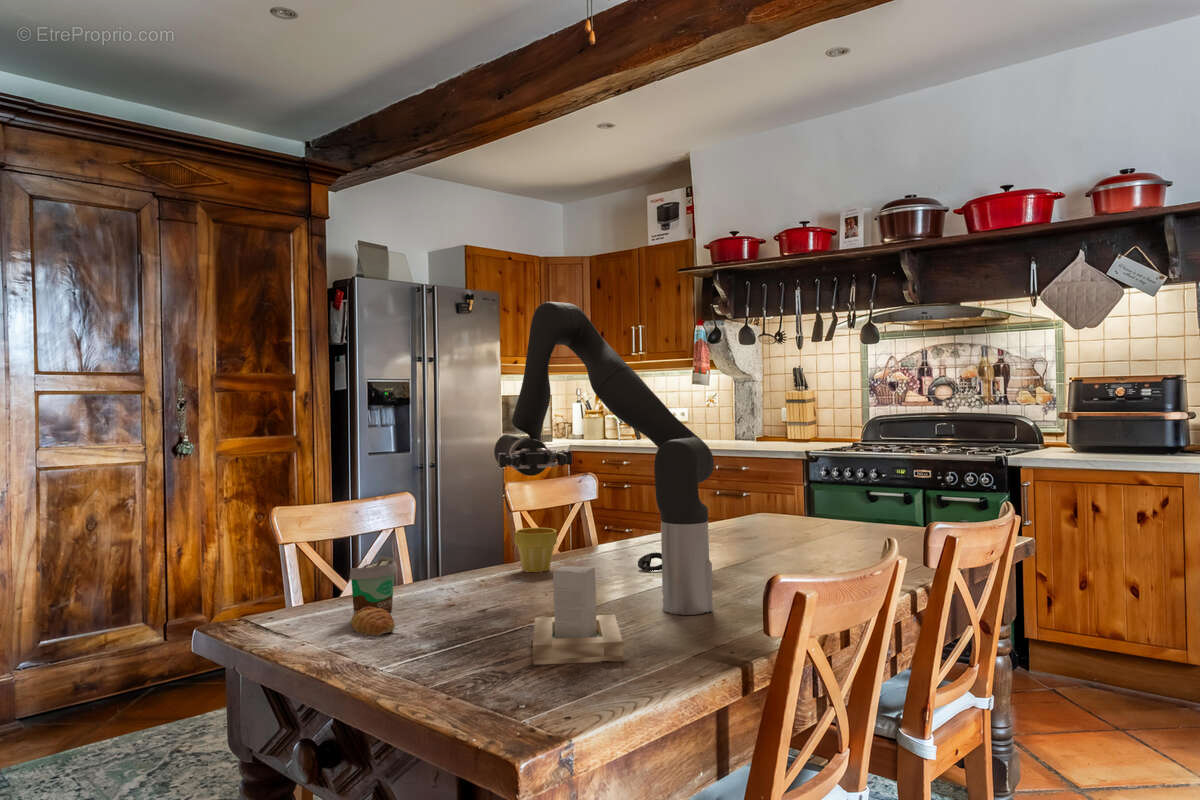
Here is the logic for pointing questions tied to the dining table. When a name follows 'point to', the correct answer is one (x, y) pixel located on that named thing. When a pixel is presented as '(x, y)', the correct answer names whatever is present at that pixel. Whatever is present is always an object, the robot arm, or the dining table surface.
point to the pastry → (372, 621)
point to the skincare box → (574, 602)
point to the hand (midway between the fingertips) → (540, 460)
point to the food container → (374, 585)
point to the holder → (577, 643)
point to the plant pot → (535, 548)
